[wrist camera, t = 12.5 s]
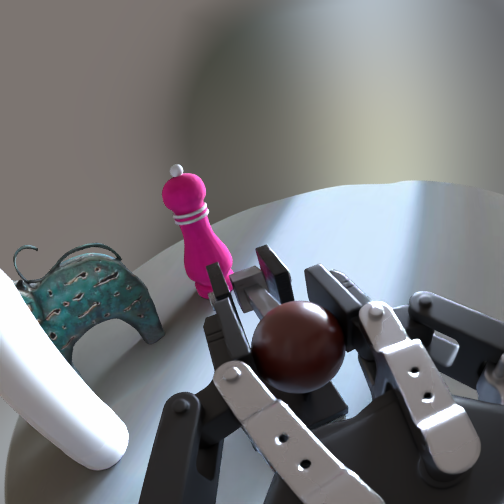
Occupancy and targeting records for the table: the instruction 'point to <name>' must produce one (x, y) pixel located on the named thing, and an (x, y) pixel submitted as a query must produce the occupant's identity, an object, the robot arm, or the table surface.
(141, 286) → the ceramic cat
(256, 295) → the press lever
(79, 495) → the table surface
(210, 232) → the pepper mill
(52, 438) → the bottle
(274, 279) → the lever bracket
